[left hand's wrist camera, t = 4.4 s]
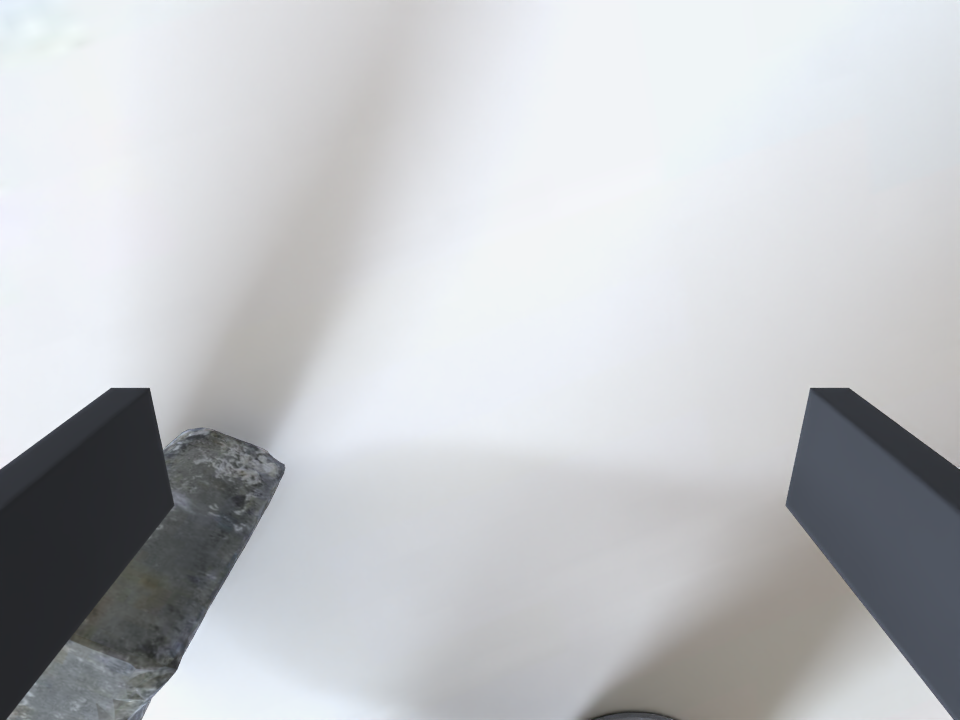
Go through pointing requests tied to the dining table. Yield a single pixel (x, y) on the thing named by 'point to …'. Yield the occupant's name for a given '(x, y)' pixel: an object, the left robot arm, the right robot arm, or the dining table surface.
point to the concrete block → (161, 585)
